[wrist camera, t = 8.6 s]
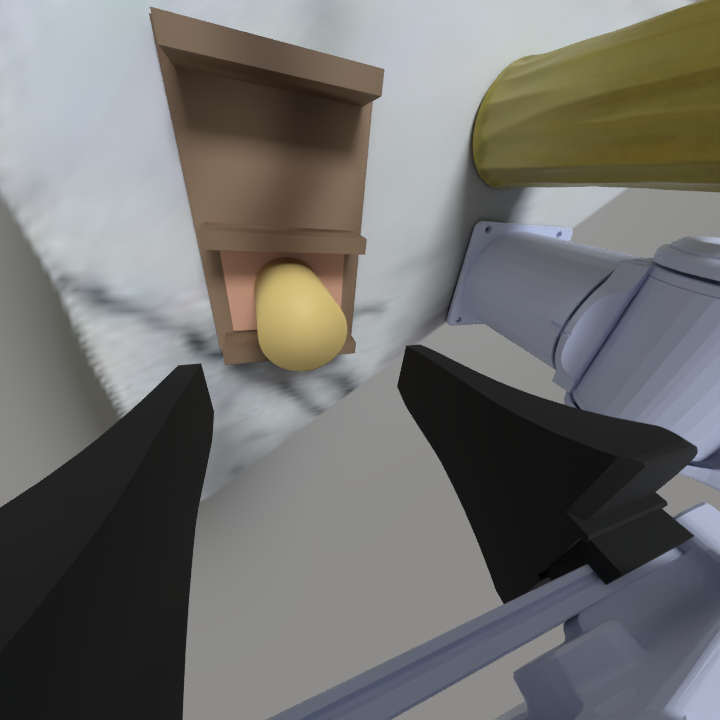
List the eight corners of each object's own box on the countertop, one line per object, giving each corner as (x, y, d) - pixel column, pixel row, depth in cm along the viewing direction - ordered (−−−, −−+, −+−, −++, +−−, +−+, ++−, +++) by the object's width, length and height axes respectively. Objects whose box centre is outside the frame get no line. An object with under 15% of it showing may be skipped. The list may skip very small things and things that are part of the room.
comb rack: (371, 75, 13) (397, 54, 11) (348, 337, 21) (361, 358, 19) (152, 19, 10) (124, -26, 8) (221, 346, 18) (217, 372, 16)
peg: (321, 258, 17) (351, 291, 12) (319, 318, 19) (343, 366, 14) (250, 255, 15) (253, 292, 11) (257, 321, 17) (261, 375, 13)
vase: (517, 201, 19) (875, 243, 8) (453, 168, 17) (850, 163, 6) (574, 91, 17) (1234, -69, 5) (507, 30, 14) (1512, -516, 3)
